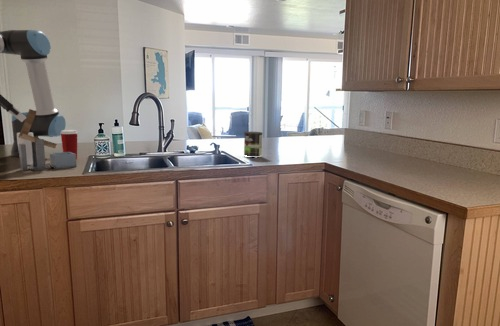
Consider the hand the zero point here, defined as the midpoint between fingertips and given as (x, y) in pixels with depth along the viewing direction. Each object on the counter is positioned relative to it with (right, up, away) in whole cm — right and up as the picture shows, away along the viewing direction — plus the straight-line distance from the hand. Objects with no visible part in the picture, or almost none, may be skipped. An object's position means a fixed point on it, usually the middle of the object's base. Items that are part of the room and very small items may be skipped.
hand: (24, 119), depth 160 cm
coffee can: (+98, -15, +55) cm, 114 cm away
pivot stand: (+3, -21, +7) cm, 22 cm away
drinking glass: (-8, -19, +17) cm, 27 cm away
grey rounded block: (+10, -20, +14) cm, 26 cm away
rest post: (-2, -22, +3) cm, 22 cm away
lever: (+3, -9, +5) cm, 11 cm away
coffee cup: (+4, -17, +33) cm, 37 cm away
